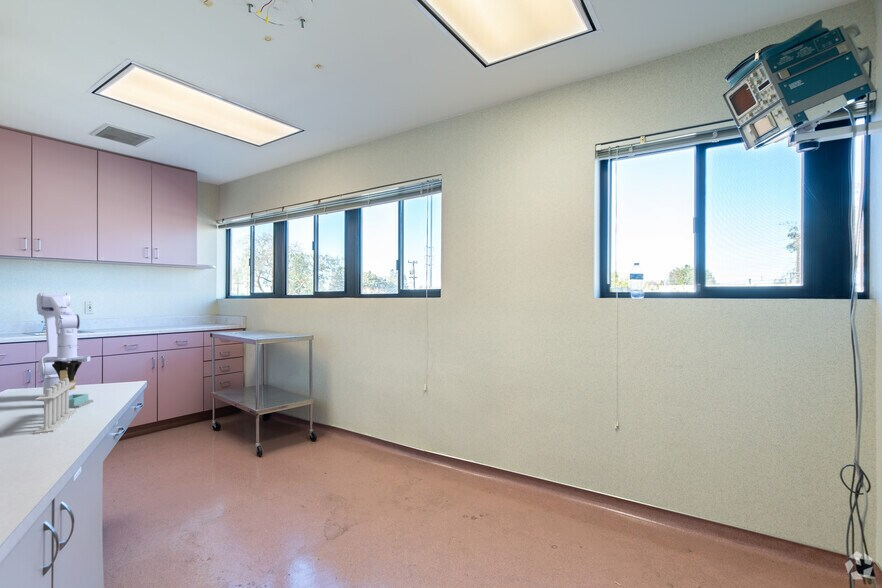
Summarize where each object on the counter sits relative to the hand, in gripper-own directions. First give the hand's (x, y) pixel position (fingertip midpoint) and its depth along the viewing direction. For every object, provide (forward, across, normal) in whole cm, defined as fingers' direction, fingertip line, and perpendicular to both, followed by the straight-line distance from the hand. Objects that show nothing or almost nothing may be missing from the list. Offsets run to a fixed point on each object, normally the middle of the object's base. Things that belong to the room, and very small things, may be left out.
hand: (66, 380), depth 157 cm
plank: (+4, 0, 0) cm, 4 cm away
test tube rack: (+10, +11, -23) cm, 27 cm away
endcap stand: (+10, +2, 0) cm, 10 cm away
